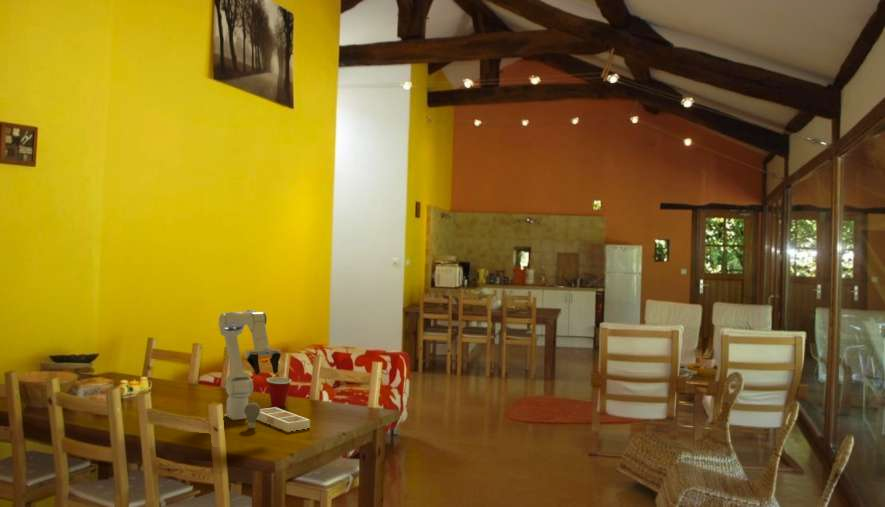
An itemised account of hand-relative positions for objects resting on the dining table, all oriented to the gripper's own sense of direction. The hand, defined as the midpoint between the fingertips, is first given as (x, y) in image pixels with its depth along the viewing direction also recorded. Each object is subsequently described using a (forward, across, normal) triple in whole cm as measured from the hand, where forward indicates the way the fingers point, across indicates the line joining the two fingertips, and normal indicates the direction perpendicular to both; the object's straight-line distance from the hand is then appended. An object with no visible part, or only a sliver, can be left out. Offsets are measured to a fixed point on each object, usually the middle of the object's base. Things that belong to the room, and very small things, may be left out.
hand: (267, 373), depth 282 cm
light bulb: (+16, -1, +18) cm, 24 cm away
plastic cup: (0, +27, +42) cm, 50 cm away
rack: (+15, +12, +17) cm, 26 cm away
